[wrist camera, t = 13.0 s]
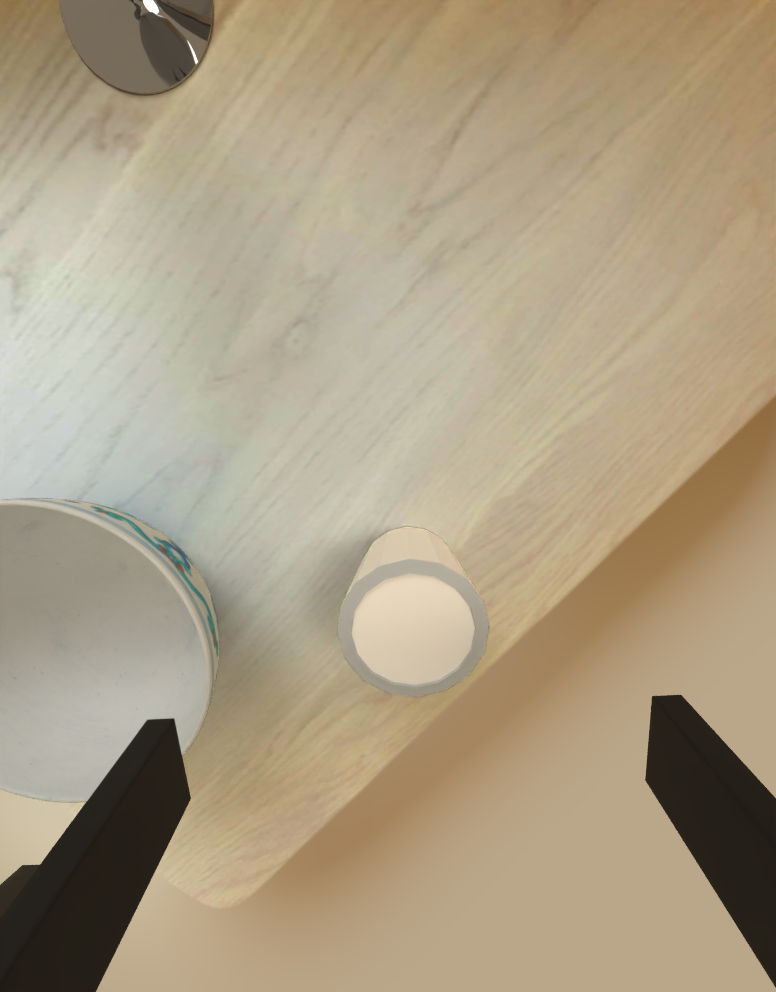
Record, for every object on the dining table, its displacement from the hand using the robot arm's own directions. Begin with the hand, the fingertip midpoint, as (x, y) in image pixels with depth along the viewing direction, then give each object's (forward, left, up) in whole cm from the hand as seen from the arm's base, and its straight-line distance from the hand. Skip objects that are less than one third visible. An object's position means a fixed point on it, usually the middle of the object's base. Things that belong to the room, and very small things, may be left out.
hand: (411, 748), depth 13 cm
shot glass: (+1, 0, -15) cm, 15 cm away
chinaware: (+1, -16, -15) cm, 22 cm away
